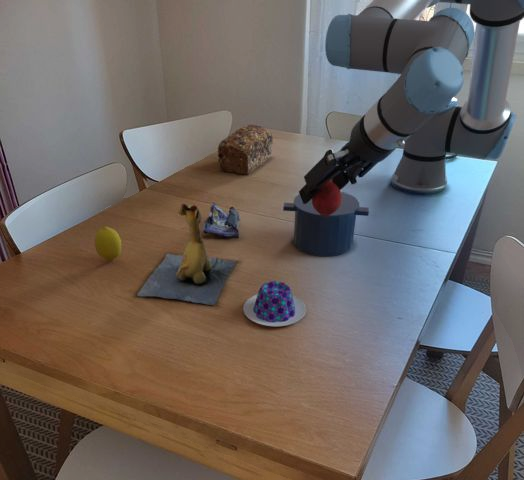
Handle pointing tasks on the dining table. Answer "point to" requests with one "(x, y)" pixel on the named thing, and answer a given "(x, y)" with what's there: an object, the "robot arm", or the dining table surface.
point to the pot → (324, 232)
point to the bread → (245, 149)
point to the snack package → (222, 222)
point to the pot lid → (346, 208)
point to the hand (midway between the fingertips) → (315, 194)
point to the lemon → (108, 243)
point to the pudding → (274, 305)
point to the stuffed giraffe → (189, 269)
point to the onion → (327, 199)
